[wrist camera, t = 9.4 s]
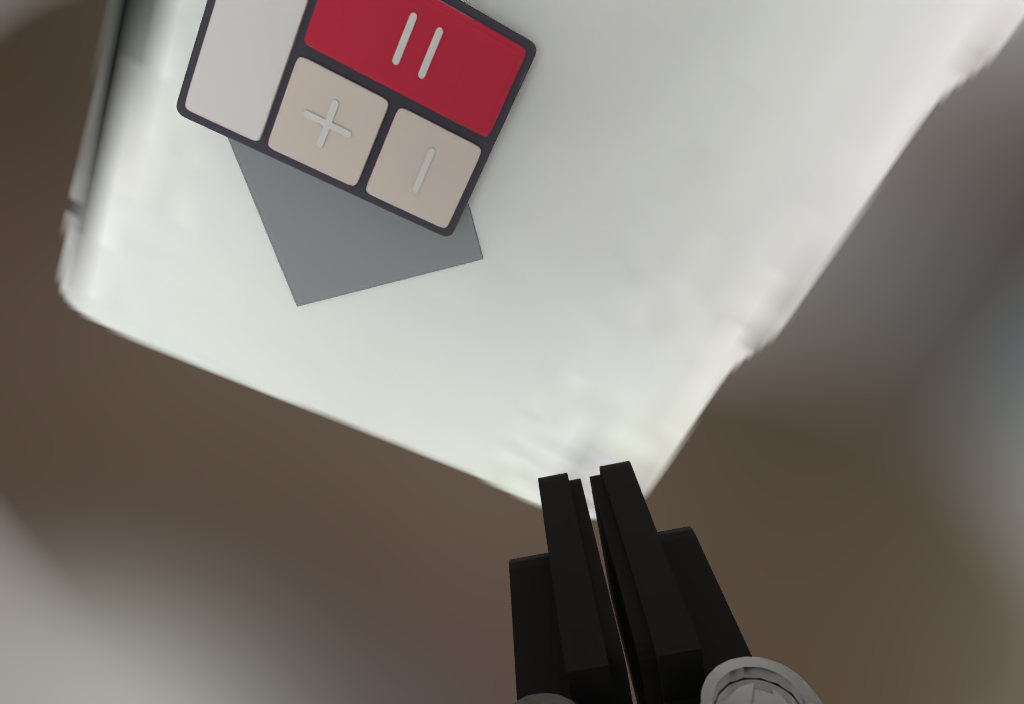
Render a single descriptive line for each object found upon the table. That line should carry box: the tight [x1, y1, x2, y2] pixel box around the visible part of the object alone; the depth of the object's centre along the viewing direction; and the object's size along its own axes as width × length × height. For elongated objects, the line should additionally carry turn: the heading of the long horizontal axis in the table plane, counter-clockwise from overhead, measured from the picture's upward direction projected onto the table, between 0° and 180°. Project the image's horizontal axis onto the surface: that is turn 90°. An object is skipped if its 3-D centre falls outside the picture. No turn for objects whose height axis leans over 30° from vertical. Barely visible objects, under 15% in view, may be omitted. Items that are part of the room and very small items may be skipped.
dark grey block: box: [177, 0, 536, 237], centre depth 33 cm, size 11×4×15 cm
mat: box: [228, 137, 483, 306], centre depth 37 cm, size 12×11×1 cm
